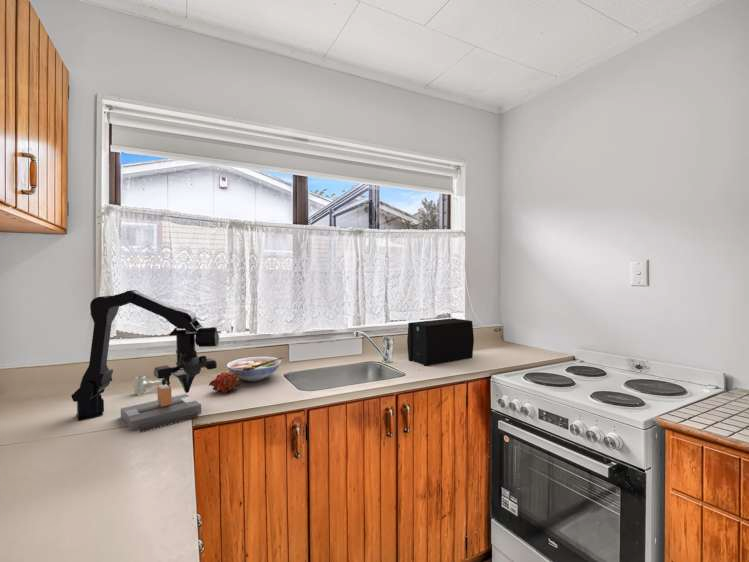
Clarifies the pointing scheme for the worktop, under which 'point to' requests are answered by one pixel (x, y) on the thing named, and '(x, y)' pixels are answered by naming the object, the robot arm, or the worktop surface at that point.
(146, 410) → the panel
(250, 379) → the ramen bowl
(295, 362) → the worktop surface
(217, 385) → the dragon fruit
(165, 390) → the orange rectangular block
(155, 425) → the grey slab
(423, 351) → the uninterruptible power supply
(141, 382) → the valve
